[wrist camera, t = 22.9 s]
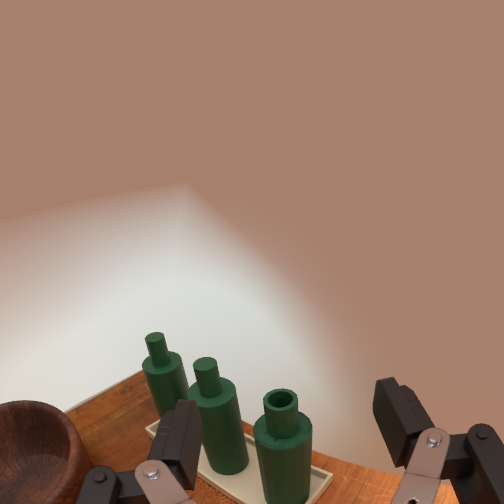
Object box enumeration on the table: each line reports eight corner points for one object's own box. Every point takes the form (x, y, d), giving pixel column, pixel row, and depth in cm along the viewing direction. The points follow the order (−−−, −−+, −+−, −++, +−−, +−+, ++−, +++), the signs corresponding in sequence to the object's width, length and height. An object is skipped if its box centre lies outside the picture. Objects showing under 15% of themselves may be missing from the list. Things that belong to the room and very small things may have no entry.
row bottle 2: (237, 441, 40) (217, 344, 36) (256, 465, 36) (239, 366, 31) (203, 455, 38) (172, 359, 33) (220, 481, 33) (189, 385, 28)
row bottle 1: (193, 414, 47) (168, 322, 42) (206, 435, 42) (180, 339, 37) (162, 425, 44) (130, 333, 40) (173, 447, 39) (138, 352, 35)
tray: (332, 481, 31) (333, 473, 31) (288, 532, 24) (288, 527, 24) (191, 408, 49) (189, 400, 49) (148, 436, 42) (144, 428, 42)
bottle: (292, 471, 34) (288, 372, 29) (318, 496, 29) (325, 401, 24) (256, 490, 31) (237, 395, 26) (280, 518, 26) (270, 430, 22)
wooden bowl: (-32, 474, 23) (-65, 432, 21) (64, 424, 43) (41, 380, 40) (17, 583, 9) (-38, 548, 6) (144, 507, 28) (114, 465, 26)
